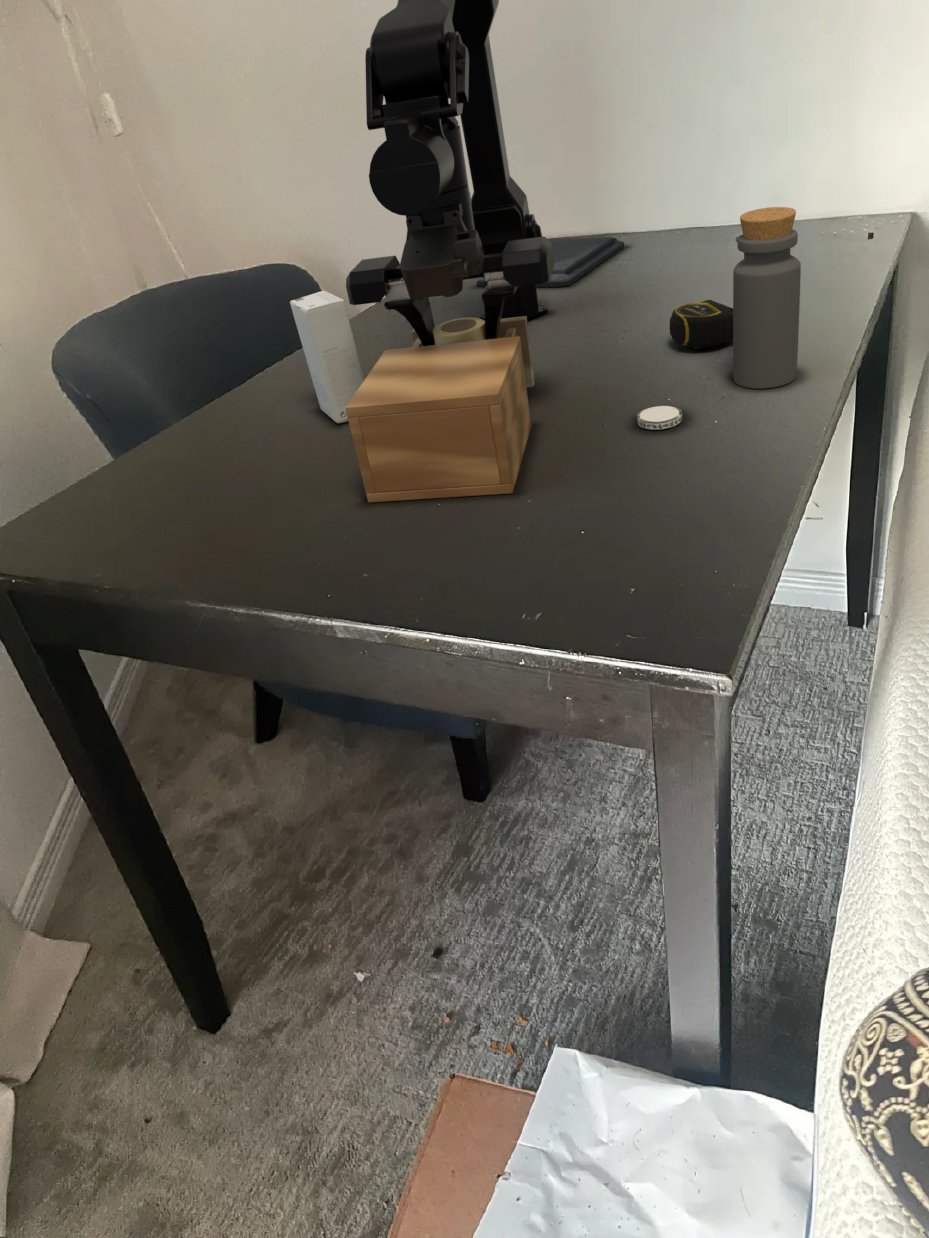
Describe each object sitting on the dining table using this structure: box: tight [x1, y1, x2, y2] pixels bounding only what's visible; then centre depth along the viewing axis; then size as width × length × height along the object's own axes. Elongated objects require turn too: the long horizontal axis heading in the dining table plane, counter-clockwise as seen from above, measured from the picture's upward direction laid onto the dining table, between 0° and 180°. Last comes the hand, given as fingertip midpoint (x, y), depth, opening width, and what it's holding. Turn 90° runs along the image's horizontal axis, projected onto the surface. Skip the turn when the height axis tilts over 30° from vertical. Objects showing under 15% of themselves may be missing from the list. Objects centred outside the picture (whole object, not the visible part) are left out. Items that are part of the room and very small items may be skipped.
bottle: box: [732, 206, 802, 390], centre depth 86 cm, size 6×6×15 cm
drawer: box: [411, 316, 535, 388], centre depth 93 cm, size 16×12×7 cm
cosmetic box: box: [289, 290, 365, 424], centre depth 98 cm, size 6×4×12 cm
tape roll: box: [433, 317, 486, 345], centre depth 91 cm, size 5×5×5 cm
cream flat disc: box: [636, 405, 683, 430], centre depth 86 cm, size 4×4×1 cm
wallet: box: [476, 236, 625, 288], centre depth 137 cm, size 20×2×15 cm
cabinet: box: [345, 336, 532, 504], centre depth 83 cm, size 14×13×9 cm
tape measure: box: [669, 299, 733, 350], centre depth 100 cm, size 7×7×4 cm
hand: (464, 361), depth 91 cm, fingers closed on tape roll, 5 cm apart
